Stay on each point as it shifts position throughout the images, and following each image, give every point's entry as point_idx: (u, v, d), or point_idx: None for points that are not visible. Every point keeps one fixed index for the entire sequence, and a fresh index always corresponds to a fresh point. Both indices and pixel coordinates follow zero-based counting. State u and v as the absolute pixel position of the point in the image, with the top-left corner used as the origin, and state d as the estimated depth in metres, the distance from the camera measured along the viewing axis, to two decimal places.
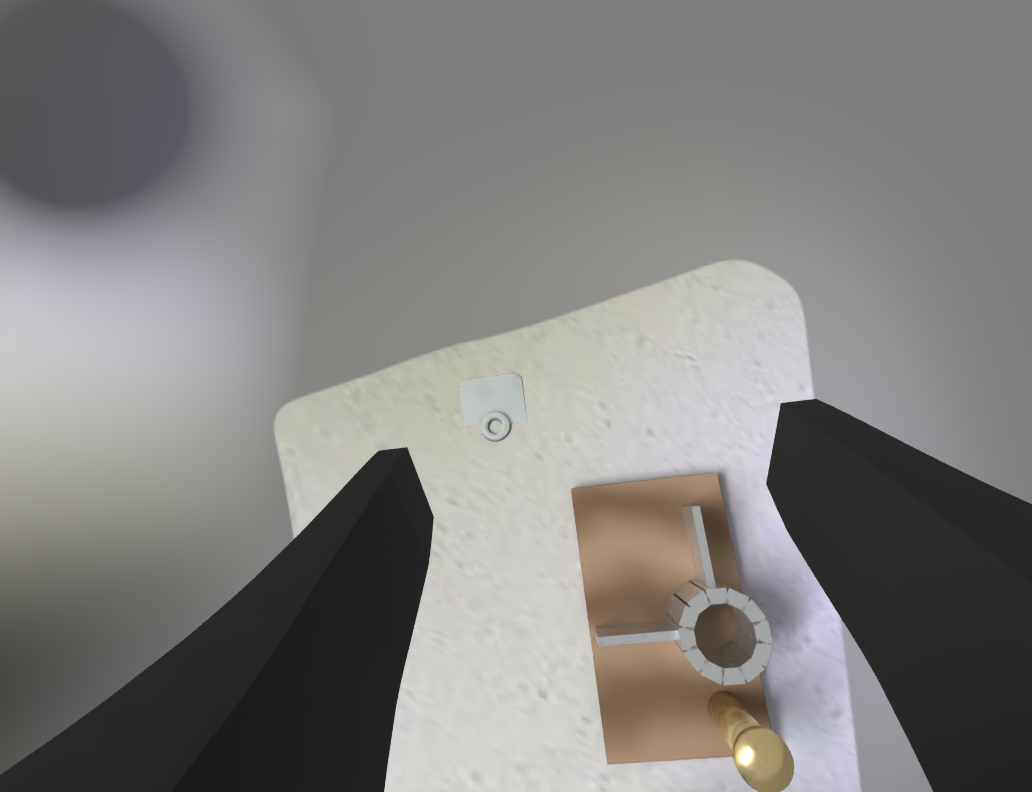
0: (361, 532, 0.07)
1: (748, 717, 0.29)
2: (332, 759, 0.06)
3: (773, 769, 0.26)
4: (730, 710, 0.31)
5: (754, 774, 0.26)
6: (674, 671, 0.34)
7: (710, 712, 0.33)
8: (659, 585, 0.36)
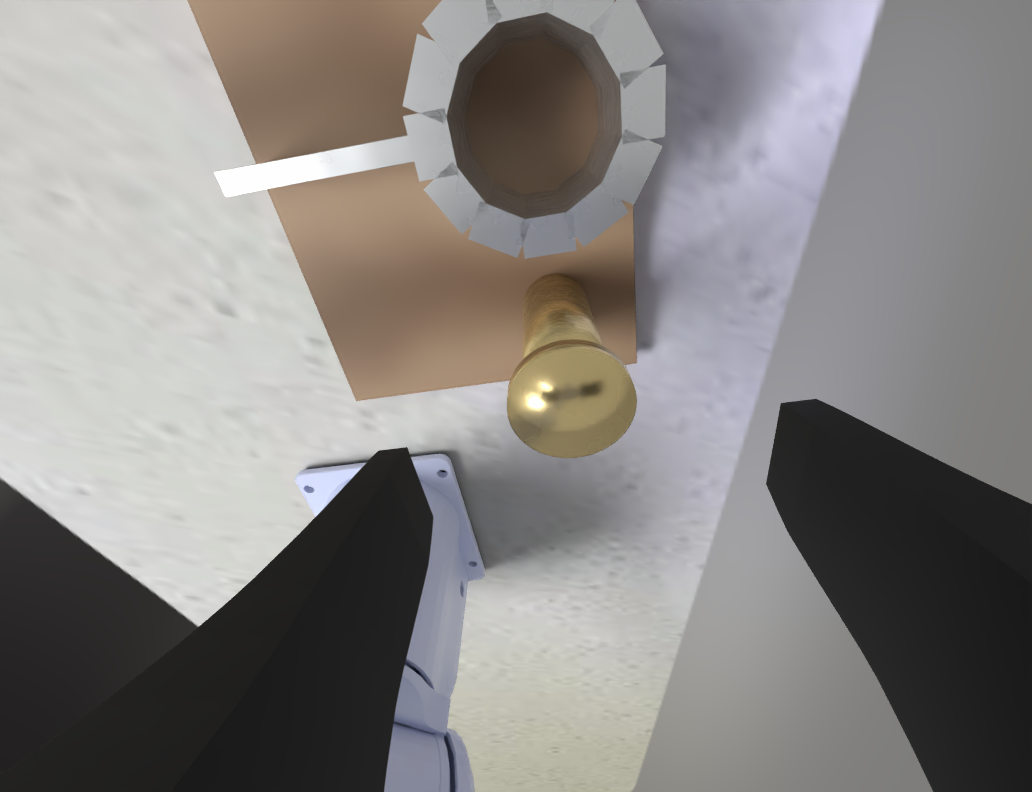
0: (361, 532, 0.07)
1: (572, 319, 0.13)
2: (332, 759, 0.06)
3: (588, 419, 0.11)
4: (545, 308, 0.14)
5: (545, 430, 0.12)
6: (458, 245, 0.16)
7: None
8: (408, 27, 0.13)
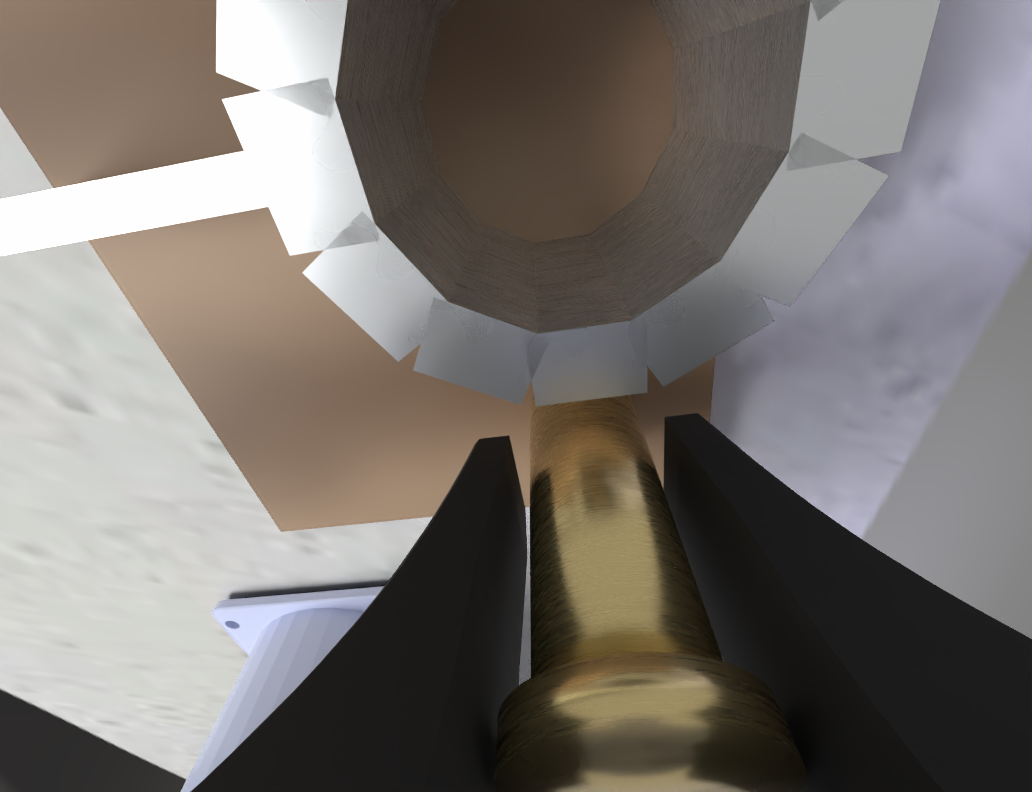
0: (493, 519, 0.07)
1: (629, 510, 0.07)
2: (495, 752, 0.05)
3: None
4: (571, 464, 0.07)
5: None
6: None
7: None
8: None
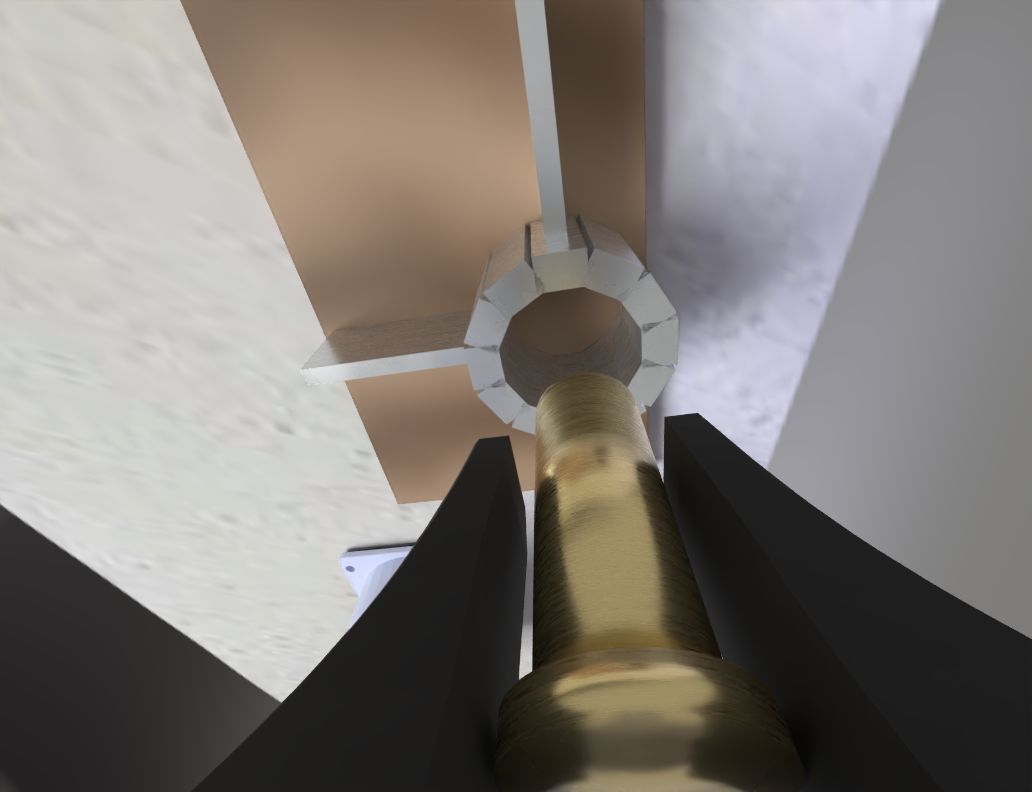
0: (493, 519, 0.07)
1: (631, 512, 0.07)
2: (495, 752, 0.05)
3: None
4: (576, 466, 0.08)
5: None
6: None
7: (535, 434, 0.10)
8: (459, 239, 0.15)
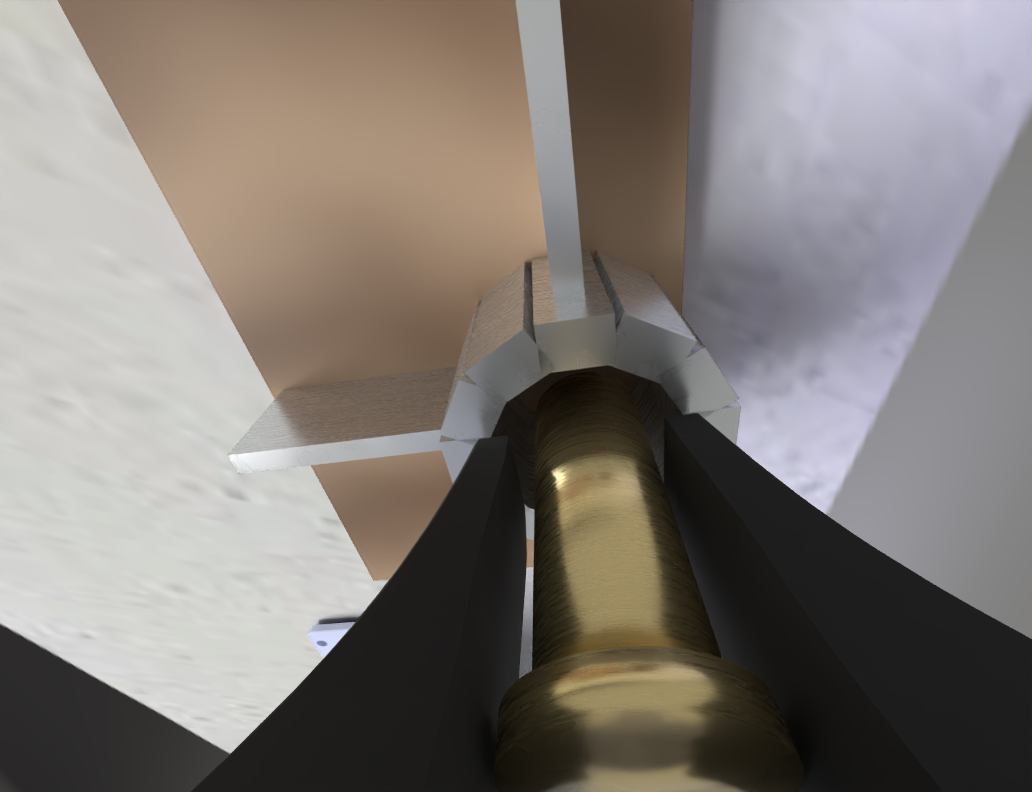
0: (493, 519, 0.07)
1: (631, 511, 0.07)
2: None
3: None
4: (576, 466, 0.08)
5: None
6: None
7: (535, 434, 0.10)
8: (438, 280, 0.12)
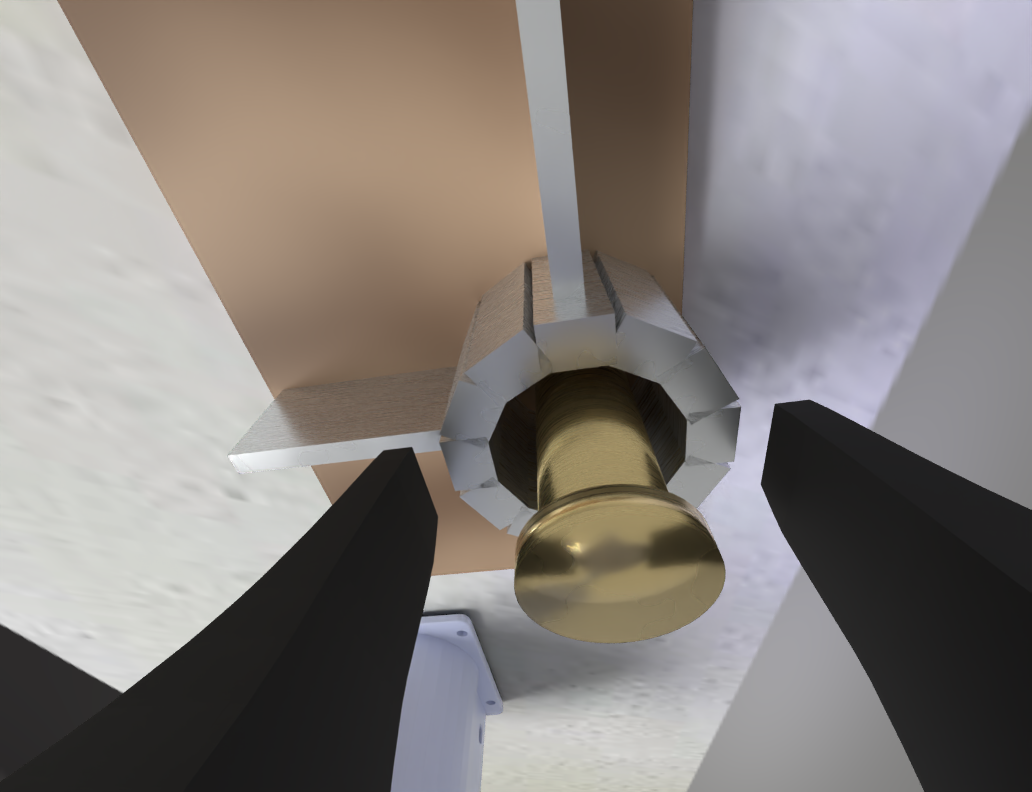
0: (367, 531, 0.07)
1: (611, 418, 0.09)
2: (340, 758, 0.06)
3: (643, 600, 0.07)
4: (568, 392, 0.10)
5: (574, 612, 0.07)
6: None
7: None
8: (438, 280, 0.12)
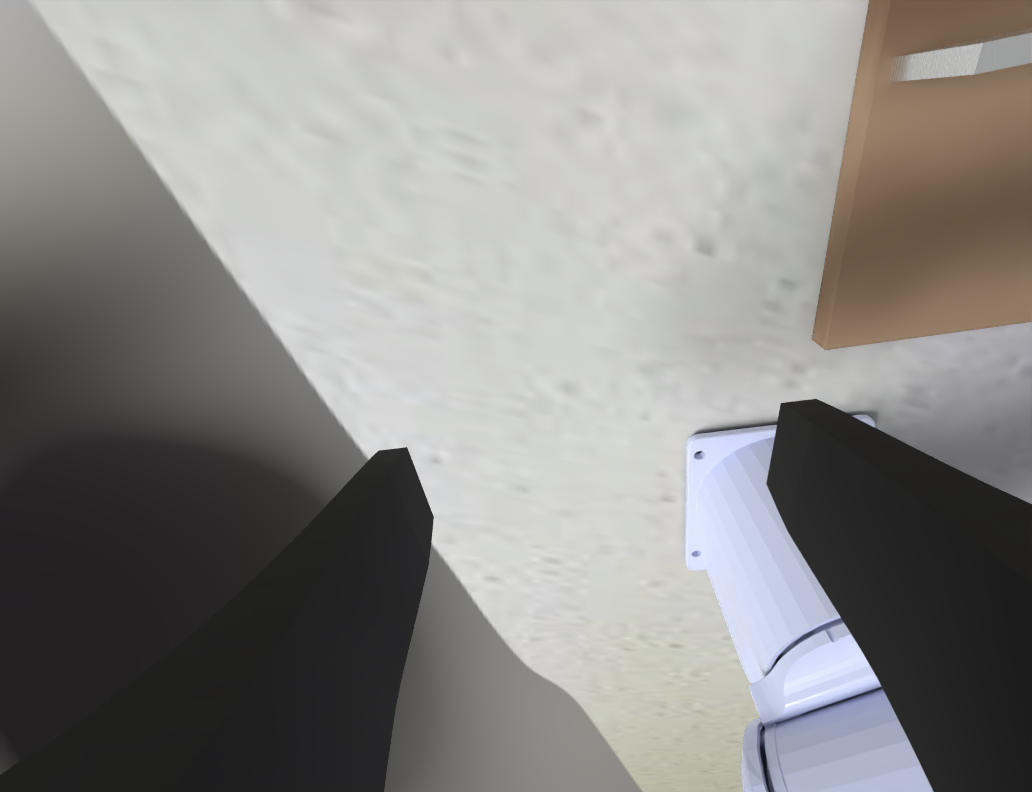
0: (361, 532, 0.07)
1: None
2: (332, 759, 0.06)
3: None
4: None
5: None
6: None
7: None
8: None
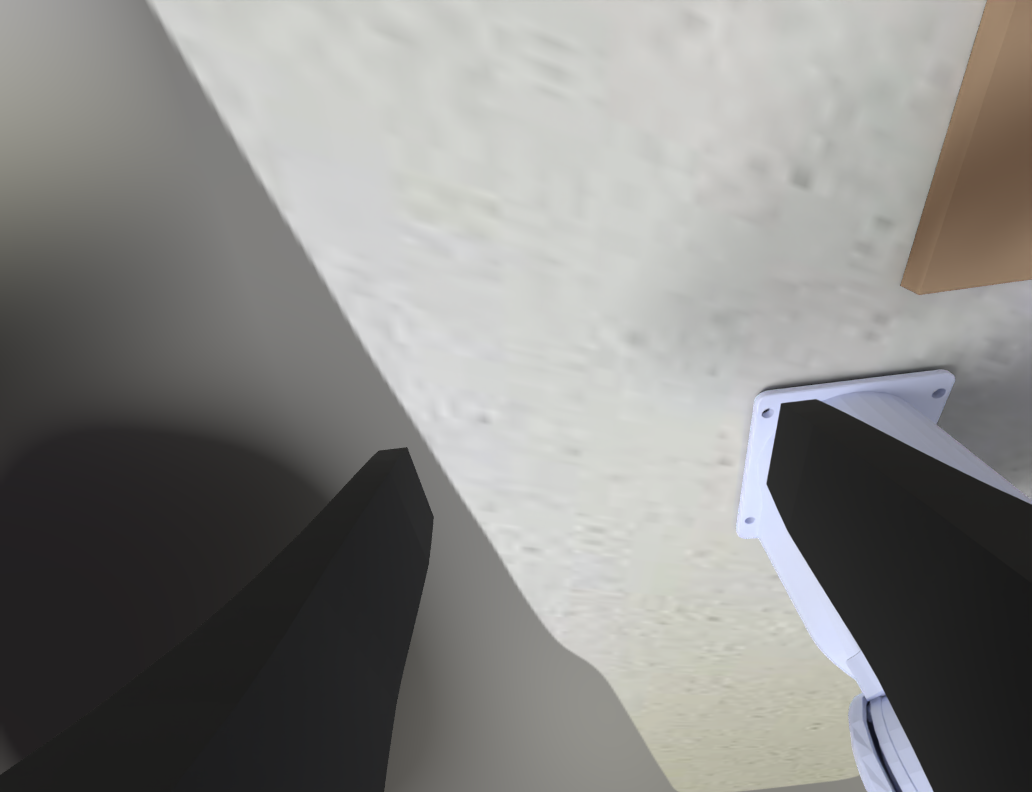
0: (361, 532, 0.07)
1: None
2: (332, 759, 0.06)
3: None
4: None
5: None
6: None
7: None
8: None
